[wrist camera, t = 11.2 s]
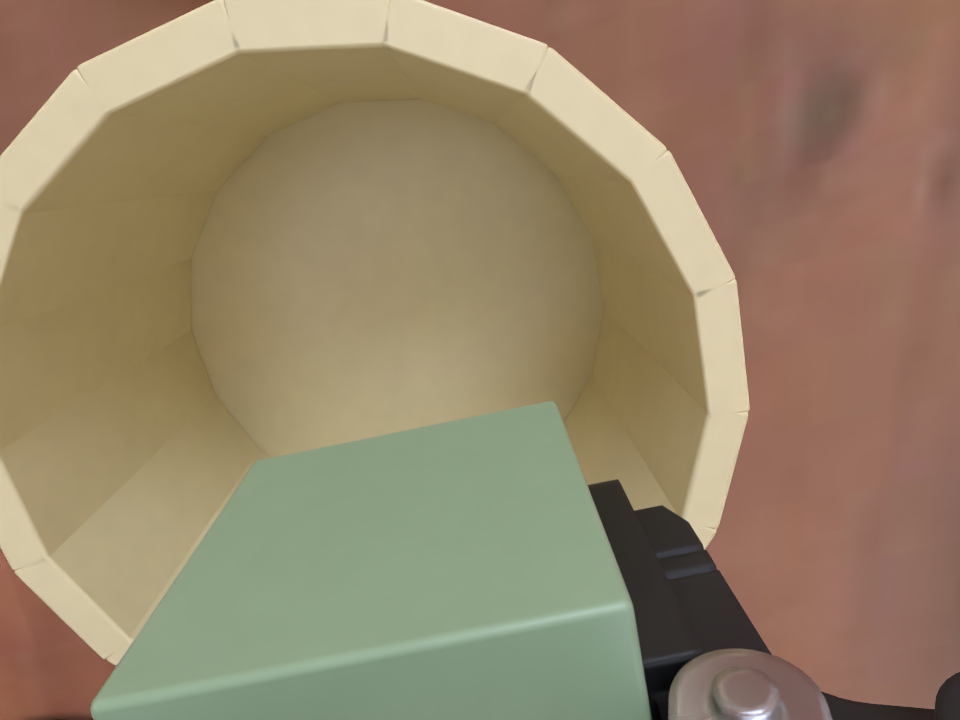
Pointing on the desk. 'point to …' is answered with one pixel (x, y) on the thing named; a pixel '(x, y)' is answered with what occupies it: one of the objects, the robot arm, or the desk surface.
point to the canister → (334, 280)
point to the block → (398, 589)
